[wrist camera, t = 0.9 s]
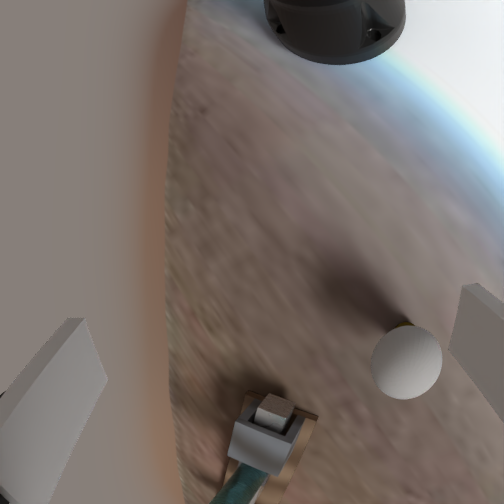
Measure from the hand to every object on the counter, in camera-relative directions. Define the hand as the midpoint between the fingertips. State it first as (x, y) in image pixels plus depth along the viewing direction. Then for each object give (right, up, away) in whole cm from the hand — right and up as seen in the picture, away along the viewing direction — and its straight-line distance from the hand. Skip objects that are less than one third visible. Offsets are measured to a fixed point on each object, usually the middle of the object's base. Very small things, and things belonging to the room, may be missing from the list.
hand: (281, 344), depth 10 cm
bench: (0, -27, +28) cm, 39 cm away
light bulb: (+14, -5, +19) cm, 24 cm away
